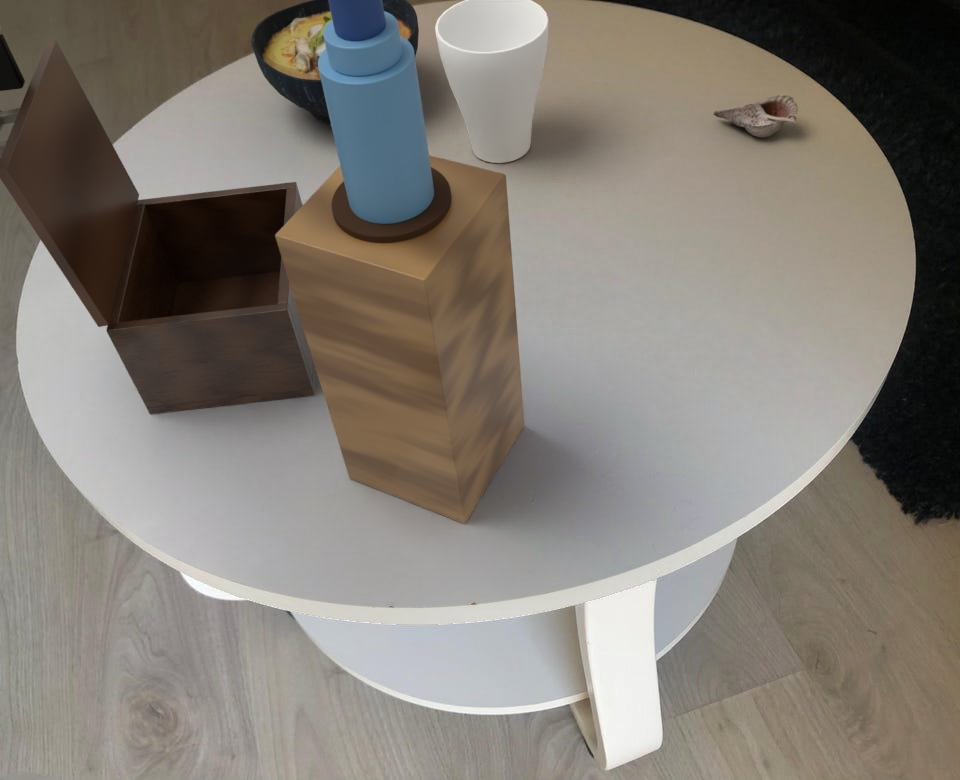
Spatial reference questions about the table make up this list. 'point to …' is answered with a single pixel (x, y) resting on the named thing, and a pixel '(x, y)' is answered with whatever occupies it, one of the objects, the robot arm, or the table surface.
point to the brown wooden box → (211, 301)
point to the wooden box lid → (70, 182)
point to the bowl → (310, 49)
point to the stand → (415, 341)
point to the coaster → (396, 230)
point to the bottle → (375, 112)
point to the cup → (495, 71)
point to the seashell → (763, 115)
